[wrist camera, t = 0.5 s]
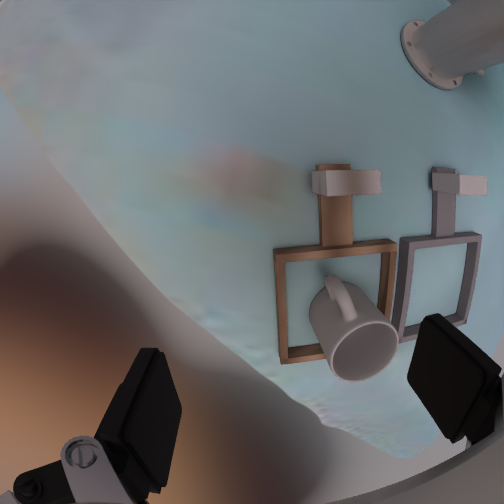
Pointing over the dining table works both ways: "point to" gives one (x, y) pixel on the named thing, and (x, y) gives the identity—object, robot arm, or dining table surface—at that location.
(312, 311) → the mug
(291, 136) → the dining table surface
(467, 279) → the grey frame with handle
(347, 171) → the brown frame with handle
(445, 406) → the robot arm
